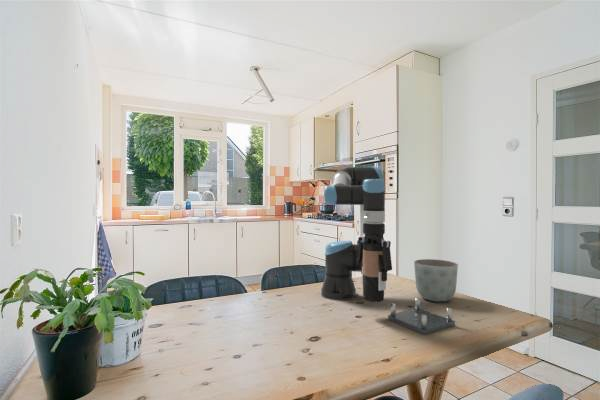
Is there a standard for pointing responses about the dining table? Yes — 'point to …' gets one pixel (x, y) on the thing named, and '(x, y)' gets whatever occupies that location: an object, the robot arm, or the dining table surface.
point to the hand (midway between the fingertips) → (373, 286)
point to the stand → (421, 319)
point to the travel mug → (371, 272)
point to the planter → (436, 279)
